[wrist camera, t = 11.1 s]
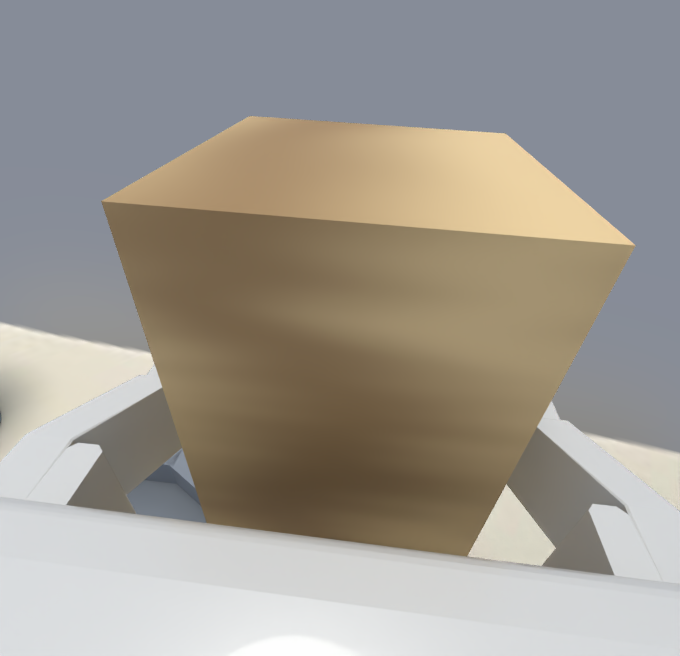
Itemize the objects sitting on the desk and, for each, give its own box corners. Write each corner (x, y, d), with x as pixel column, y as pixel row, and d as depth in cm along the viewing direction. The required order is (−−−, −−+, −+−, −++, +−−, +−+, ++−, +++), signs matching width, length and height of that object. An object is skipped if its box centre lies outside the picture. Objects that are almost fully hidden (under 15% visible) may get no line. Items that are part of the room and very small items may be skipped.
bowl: (277, 482, 25) (274, 454, 24) (177, 878, 13) (154, 885, 12) (58, 455, 26) (39, 427, 24) (-216, 805, 14) (-293, 800, 13)
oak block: (409, 482, 15) (505, 133, 7) (417, 648, 11) (636, 244, 4) (279, 466, 15) (249, 116, 8) (239, 622, 11) (101, 201, 4)
